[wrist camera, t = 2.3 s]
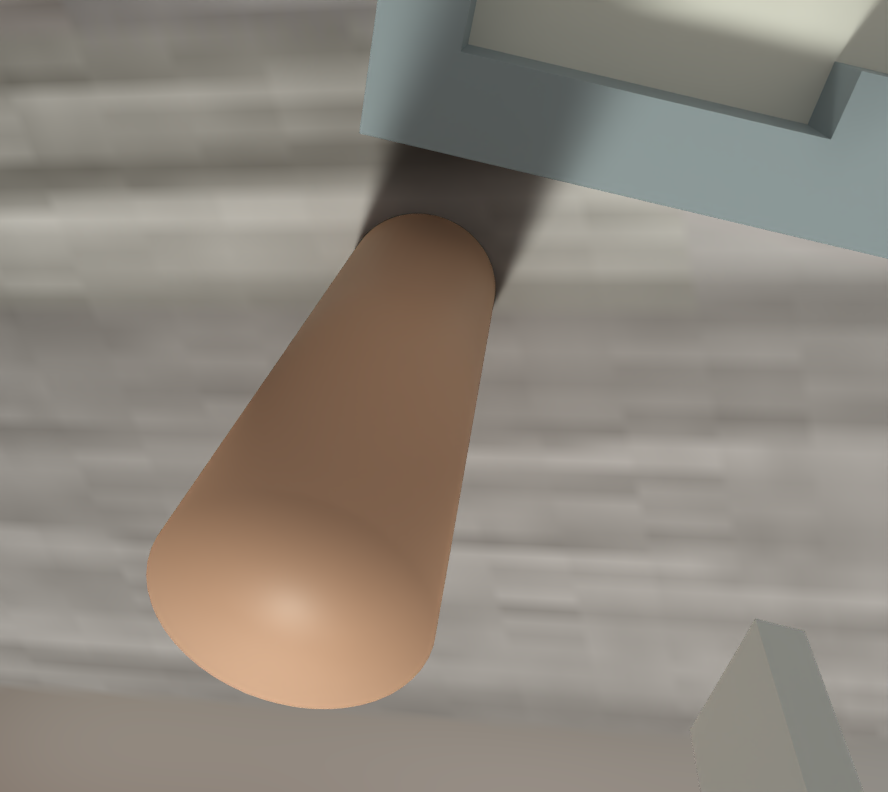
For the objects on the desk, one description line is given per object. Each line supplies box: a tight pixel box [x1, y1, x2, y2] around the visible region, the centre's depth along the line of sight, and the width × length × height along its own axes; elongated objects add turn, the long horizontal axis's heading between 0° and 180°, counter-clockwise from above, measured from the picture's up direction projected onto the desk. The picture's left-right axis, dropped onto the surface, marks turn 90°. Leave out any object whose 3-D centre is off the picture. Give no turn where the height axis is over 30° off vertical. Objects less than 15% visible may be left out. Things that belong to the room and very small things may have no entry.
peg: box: [146, 214, 495, 709], centre depth 17 cm, size 4×4×13 cm
